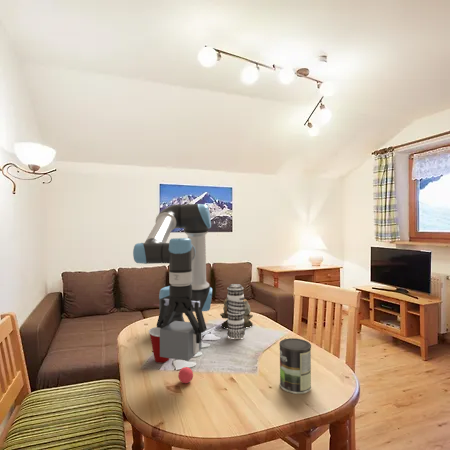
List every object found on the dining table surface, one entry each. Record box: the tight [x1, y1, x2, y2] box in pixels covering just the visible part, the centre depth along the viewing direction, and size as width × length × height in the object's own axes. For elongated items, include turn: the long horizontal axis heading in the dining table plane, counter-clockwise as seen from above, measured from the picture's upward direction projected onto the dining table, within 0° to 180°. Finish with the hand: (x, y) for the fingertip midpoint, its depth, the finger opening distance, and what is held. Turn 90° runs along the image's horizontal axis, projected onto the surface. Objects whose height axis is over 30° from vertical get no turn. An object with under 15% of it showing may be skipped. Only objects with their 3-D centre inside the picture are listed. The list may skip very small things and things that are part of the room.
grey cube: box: [160, 321, 203, 362], centre depth 105 cm, size 10×10×9 cm
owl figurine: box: [219, 298, 254, 329], centre depth 168 cm, size 18×12×17 cm, turn 108°
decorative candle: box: [225, 283, 246, 340], centre depth 151 cm, size 9×9×25 cm
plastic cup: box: [148, 326, 170, 364], centre depth 126 cm, size 11×11×12 cm
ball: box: [178, 366, 194, 384], centre depth 108 cm, size 5×5×5 cm
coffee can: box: [278, 337, 312, 395], centre depth 104 cm, size 10×10×14 cm
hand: (181, 350), depth 105 cm, fingers closed on grey cube, 10 cm apart
